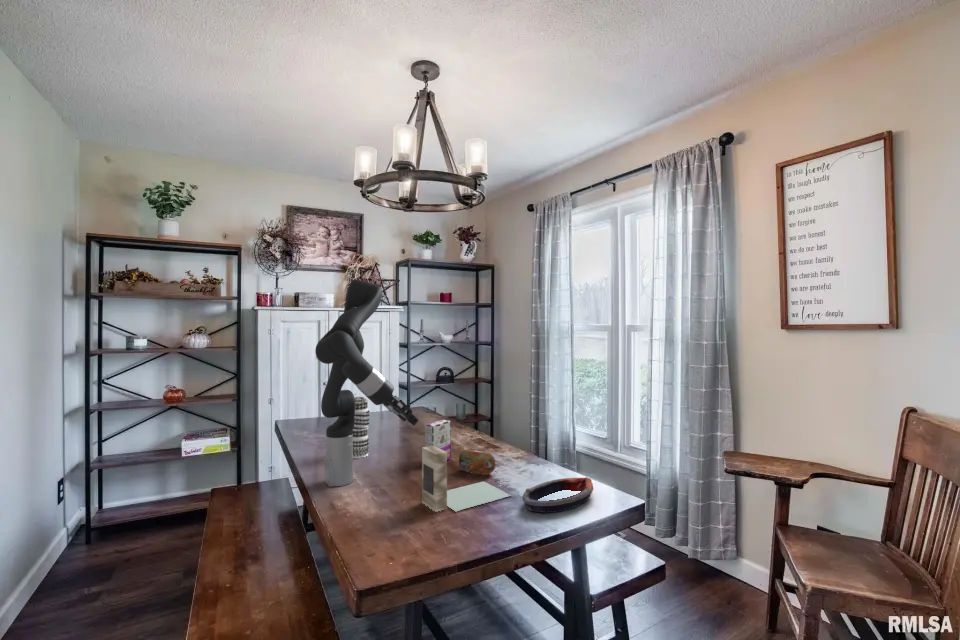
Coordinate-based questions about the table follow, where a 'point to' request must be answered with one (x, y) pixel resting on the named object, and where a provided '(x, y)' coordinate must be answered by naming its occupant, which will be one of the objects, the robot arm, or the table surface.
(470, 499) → the rubber mat
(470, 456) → the tin
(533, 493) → the dark oval ring
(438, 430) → the candy bar box
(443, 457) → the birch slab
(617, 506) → the table surface
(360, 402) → the decorative candle
